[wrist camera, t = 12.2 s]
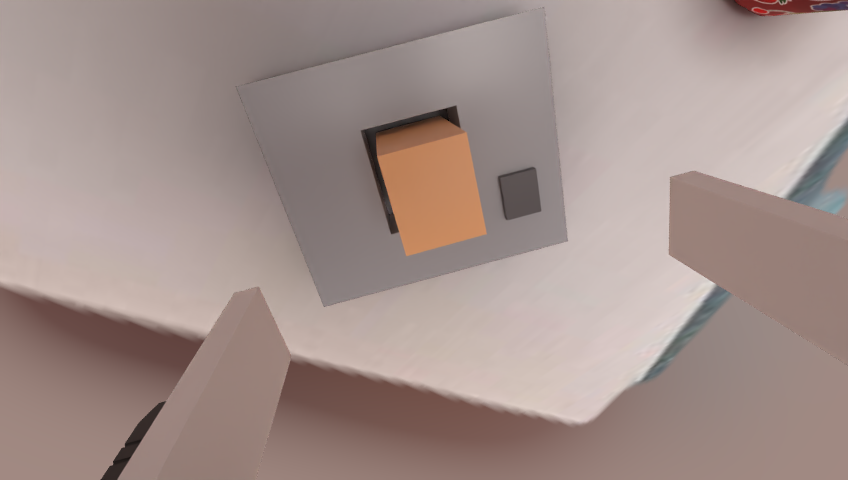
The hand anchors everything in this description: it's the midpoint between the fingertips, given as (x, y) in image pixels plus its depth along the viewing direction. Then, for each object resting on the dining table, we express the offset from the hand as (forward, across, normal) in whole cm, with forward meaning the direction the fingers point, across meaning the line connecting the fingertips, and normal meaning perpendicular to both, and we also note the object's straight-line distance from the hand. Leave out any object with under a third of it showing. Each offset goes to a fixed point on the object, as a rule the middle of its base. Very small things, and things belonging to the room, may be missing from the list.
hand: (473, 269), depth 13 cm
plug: (+18, 0, 0) cm, 18 cm away
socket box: (+18, 0, 0) cm, 18 cm away
